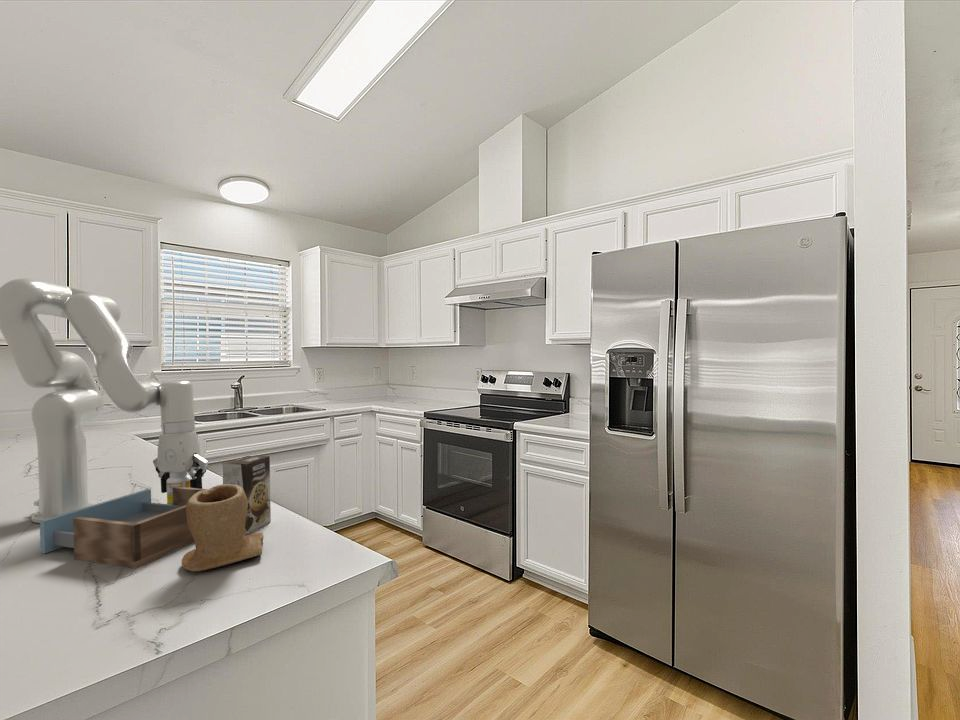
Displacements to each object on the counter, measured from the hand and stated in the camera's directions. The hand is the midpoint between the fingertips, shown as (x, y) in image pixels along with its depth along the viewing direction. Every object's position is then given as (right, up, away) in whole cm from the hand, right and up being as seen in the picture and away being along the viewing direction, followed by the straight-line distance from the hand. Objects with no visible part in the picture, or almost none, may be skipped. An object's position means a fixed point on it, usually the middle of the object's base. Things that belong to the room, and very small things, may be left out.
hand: (181, 492), depth 132 cm
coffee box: (+24, -5, -15) cm, 29 cm away
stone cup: (+29, -5, -34) cm, 45 cm away
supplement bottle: (-1, -5, 0) cm, 5 cm away
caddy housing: (+8, -5, -23) cm, 24 cm away
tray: (-1, -4, -20) cm, 20 cm away
